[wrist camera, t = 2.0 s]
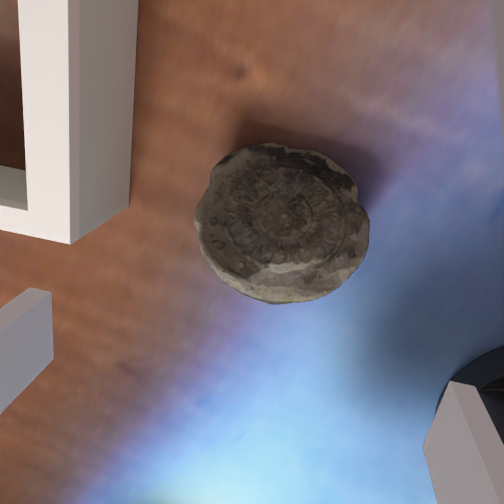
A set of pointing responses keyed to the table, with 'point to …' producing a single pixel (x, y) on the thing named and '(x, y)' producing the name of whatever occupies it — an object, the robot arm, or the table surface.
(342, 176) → the fossil
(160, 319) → the table surface
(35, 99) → the box
